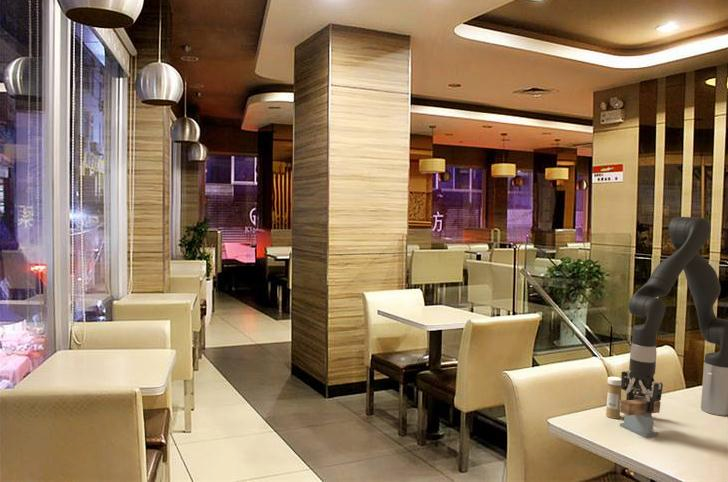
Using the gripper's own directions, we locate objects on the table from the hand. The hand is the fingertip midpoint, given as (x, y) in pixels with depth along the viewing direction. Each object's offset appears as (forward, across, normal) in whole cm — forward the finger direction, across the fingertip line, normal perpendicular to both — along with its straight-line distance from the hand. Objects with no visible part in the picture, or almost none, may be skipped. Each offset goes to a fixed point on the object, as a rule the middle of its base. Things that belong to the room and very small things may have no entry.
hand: (639, 408), depth 186 cm
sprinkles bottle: (+8, +12, -2) cm, 14 cm away
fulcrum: (+7, 0, 0) cm, 7 cm away
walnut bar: (+1, 0, 0) cm, 1 cm away
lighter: (+8, +9, -11) cm, 16 cm away
